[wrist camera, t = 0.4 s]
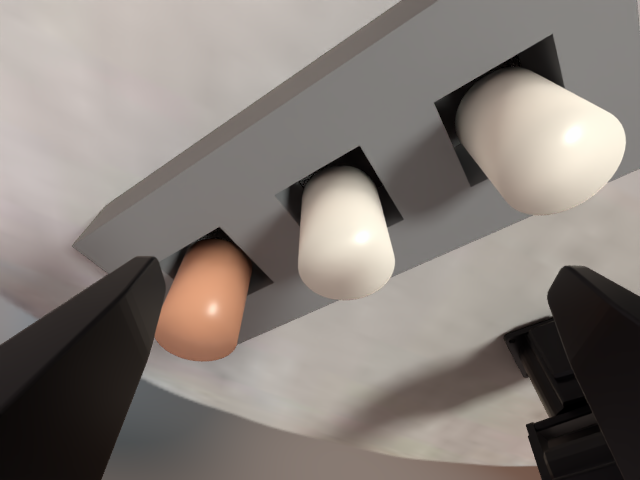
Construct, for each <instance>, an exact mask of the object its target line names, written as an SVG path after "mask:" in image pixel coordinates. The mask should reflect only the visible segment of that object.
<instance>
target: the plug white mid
mask: <svg viewBox="0 0 640 480" xmlns="http://www.w3.org/2000/svg"><path fill="white" fill-rule="evenodd" d="M394 266H395V257H394V253H393V249H392V245H391V241H390V237H389V233H388V229H387V226H386V222H385V218H384V214H383V210H382V206H381V202H380V198H379V195H378V191H377V188H376V185H375V183H374V181H373V180H372V179H371V177H370V176H369V175H367V174H366V173H365V172H363V171H362V170H360V169H358V168H355V167H351V166H346V165H338V166H331V167H328V168H325V169H323V170H321V171H319V172H317V173H316V174H315V175H314V176H312V177H311V178H310V180H309V181H308V182H307V184H306V186H305V188H304V190H303V194H302V206H301V222H300V238H299V255H298V271H299V274H300V277H301V279H302V281H303V282H304V283H305V285H306V286H307V287H308V288H309V289H311V290H312V291H313V292H315V293H317V294H318V295H321V296H323V297H326V298H329V299H334V300H353V299H359V298H363V297H365V296H368V295H370V294H372V293H374V292H376V291H378V290H379V289H380V288H382V287H383V286H384V285H385V284H386V283H387V282H388V280H389V279H390V277H391V275H392V273H393V271H394Z"/></svg>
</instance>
